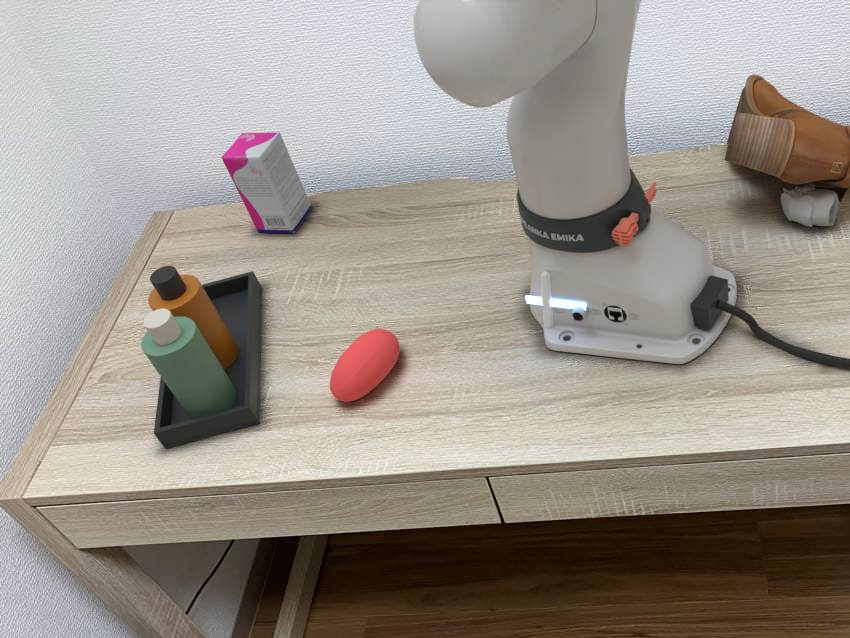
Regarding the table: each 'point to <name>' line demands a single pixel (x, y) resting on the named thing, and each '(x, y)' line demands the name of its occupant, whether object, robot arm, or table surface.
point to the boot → (787, 139)
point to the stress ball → (364, 364)
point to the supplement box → (267, 182)
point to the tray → (243, 321)
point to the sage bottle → (187, 364)
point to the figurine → (810, 205)
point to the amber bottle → (193, 310)
